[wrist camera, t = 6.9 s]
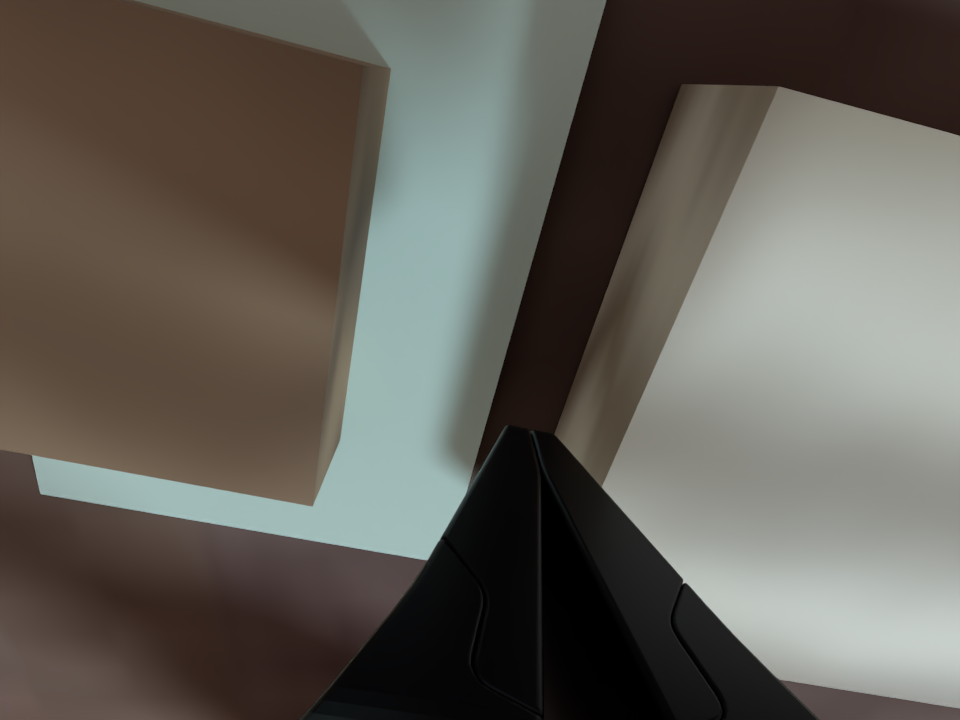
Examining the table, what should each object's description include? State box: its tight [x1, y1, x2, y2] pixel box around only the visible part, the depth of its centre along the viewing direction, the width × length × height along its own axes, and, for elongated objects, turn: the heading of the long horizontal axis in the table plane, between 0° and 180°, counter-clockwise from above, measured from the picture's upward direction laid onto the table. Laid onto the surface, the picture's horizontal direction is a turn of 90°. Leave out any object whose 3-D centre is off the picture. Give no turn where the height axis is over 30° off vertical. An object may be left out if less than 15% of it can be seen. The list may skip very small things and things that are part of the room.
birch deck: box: [554, 84, 960, 708], centre depth 12 cm, size 12×16×4 cm
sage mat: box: [32, 0, 606, 560], centre depth 12 cm, size 16×12×1 cm
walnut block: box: [0, 0, 391, 507], centre depth 11 cm, size 9×7×2 cm
